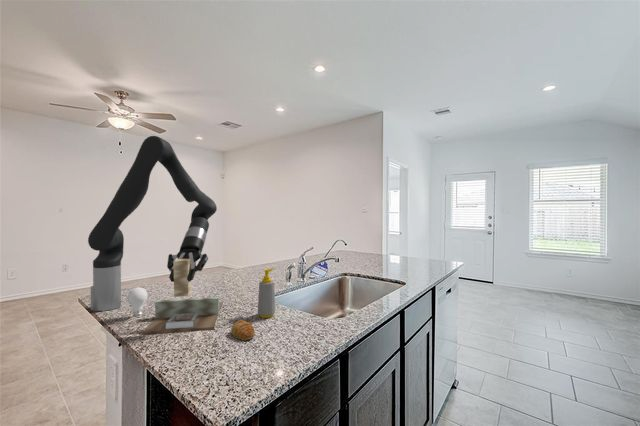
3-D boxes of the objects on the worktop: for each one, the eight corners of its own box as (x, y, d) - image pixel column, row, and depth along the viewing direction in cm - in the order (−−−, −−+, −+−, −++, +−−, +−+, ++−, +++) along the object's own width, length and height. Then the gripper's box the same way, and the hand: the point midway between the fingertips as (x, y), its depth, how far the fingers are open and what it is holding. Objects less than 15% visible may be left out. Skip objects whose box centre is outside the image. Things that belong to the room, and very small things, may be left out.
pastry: (260, 338, 92) (260, 326, 92) (240, 344, 88) (240, 332, 88) (247, 328, 100) (247, 317, 100) (228, 333, 95) (228, 322, 95)
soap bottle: (279, 315, 111) (279, 269, 111) (264, 320, 106) (264, 272, 106) (268, 310, 116) (268, 266, 116) (253, 315, 111) (254, 269, 111)
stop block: (174, 296, 97) (173, 261, 97) (177, 292, 102) (177, 259, 101) (188, 295, 98) (187, 260, 98) (191, 292, 103) (190, 258, 102)
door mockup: (142, 335, 93) (142, 313, 93) (167, 307, 118) (167, 291, 118) (213, 329, 98) (213, 309, 98) (223, 304, 123) (223, 288, 123)
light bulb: (151, 315, 111) (151, 286, 110) (134, 321, 105) (134, 291, 104) (140, 312, 113) (140, 284, 113) (123, 318, 107) (123, 288, 107)
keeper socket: (165, 329, 95) (165, 323, 95) (173, 319, 103) (173, 314, 103) (193, 327, 97) (193, 321, 97) (198, 318, 105) (198, 312, 105)
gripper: (171, 235, 107) (154, 275, 95) (210, 234, 107) (198, 274, 96) (178, 247, 112) (163, 286, 100) (215, 247, 113) (204, 285, 101)
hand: (180, 280), depth 98 cm, fingers closed on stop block, 5 cm apart
